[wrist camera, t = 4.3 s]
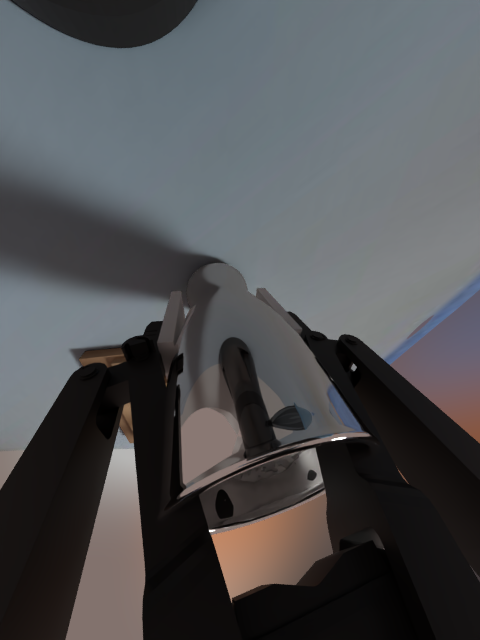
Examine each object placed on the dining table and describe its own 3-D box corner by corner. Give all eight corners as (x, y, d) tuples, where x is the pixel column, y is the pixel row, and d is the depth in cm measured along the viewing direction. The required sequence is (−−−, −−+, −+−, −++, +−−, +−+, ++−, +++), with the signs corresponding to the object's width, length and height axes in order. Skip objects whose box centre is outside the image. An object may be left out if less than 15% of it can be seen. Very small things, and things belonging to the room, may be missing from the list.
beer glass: (178, 317, 18) (143, 559, 5) (186, 248, 14) (143, 463, 2) (240, 324, 20) (315, 505, 8) (259, 266, 17) (440, 419, 4)
